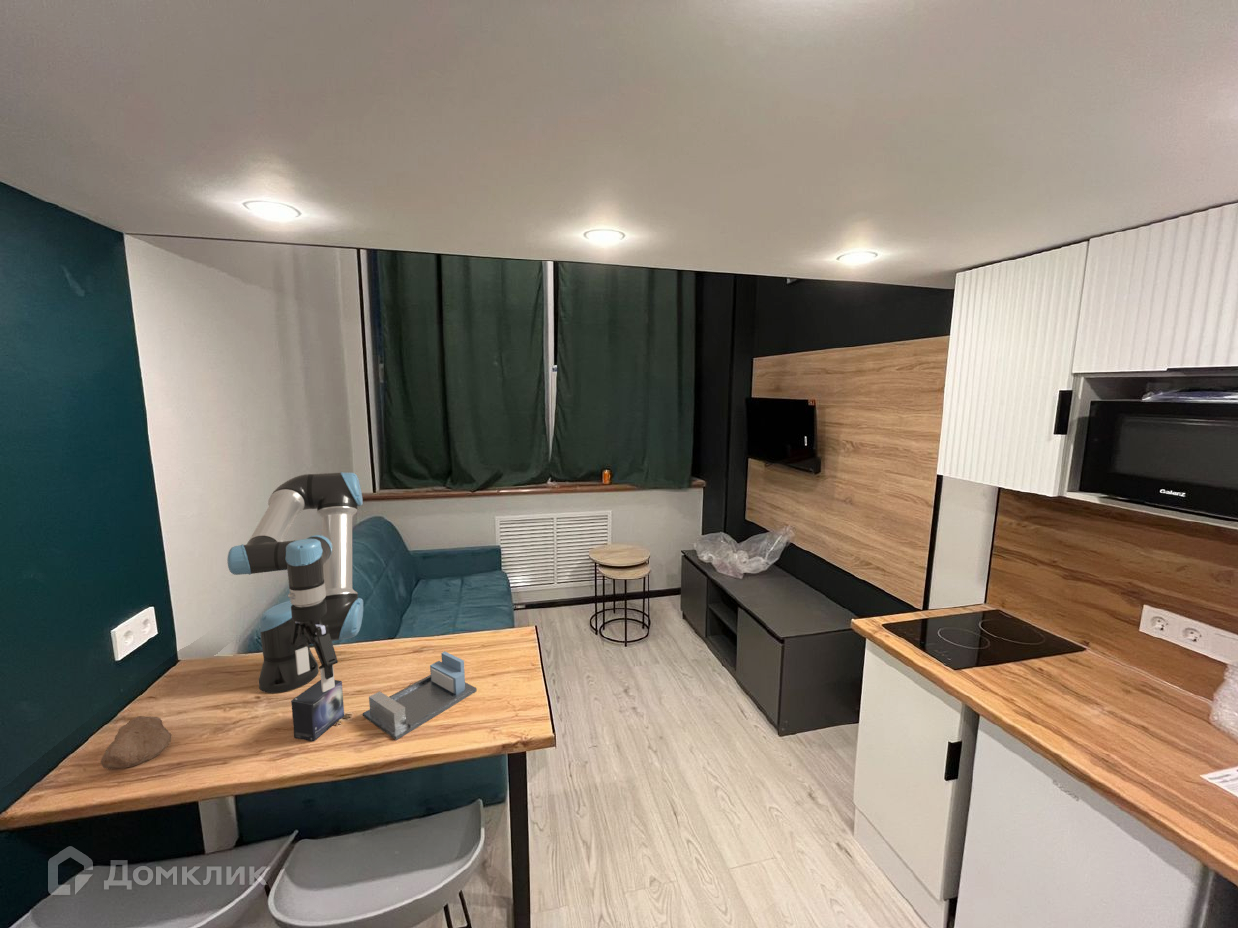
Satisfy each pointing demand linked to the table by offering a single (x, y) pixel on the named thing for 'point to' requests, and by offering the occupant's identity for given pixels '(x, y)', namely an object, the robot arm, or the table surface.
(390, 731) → the vise
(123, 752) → the stone
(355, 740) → the table surface
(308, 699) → the small box
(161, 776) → the table surface
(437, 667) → the sliding jaw
